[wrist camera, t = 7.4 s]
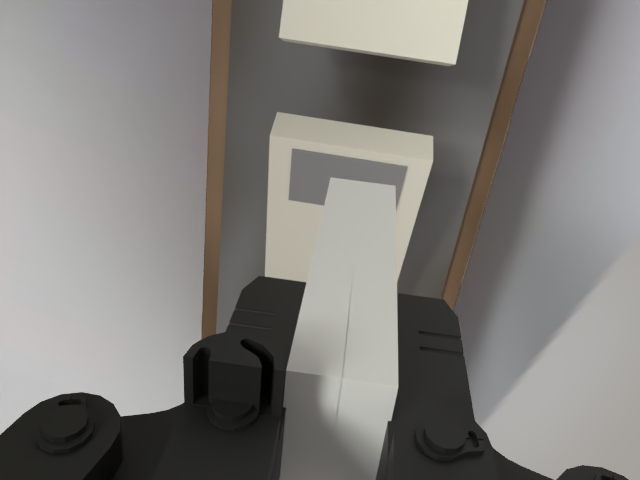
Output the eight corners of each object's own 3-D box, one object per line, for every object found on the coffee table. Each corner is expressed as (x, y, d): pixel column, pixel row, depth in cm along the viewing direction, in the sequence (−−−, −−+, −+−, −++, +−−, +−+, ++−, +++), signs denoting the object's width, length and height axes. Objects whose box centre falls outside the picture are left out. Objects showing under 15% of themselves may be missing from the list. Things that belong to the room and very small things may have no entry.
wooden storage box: (224, 352, 39) (192, 438, 32) (259, -253, 23) (212, -312, 17) (410, 383, 38) (414, 475, 32) (571, -209, 23) (641, -253, 17)
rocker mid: (270, 258, 27) (264, 283, 26) (277, 111, 21) (269, 136, 20) (392, 278, 27) (390, 303, 26) (433, 135, 21) (433, 161, 20)
